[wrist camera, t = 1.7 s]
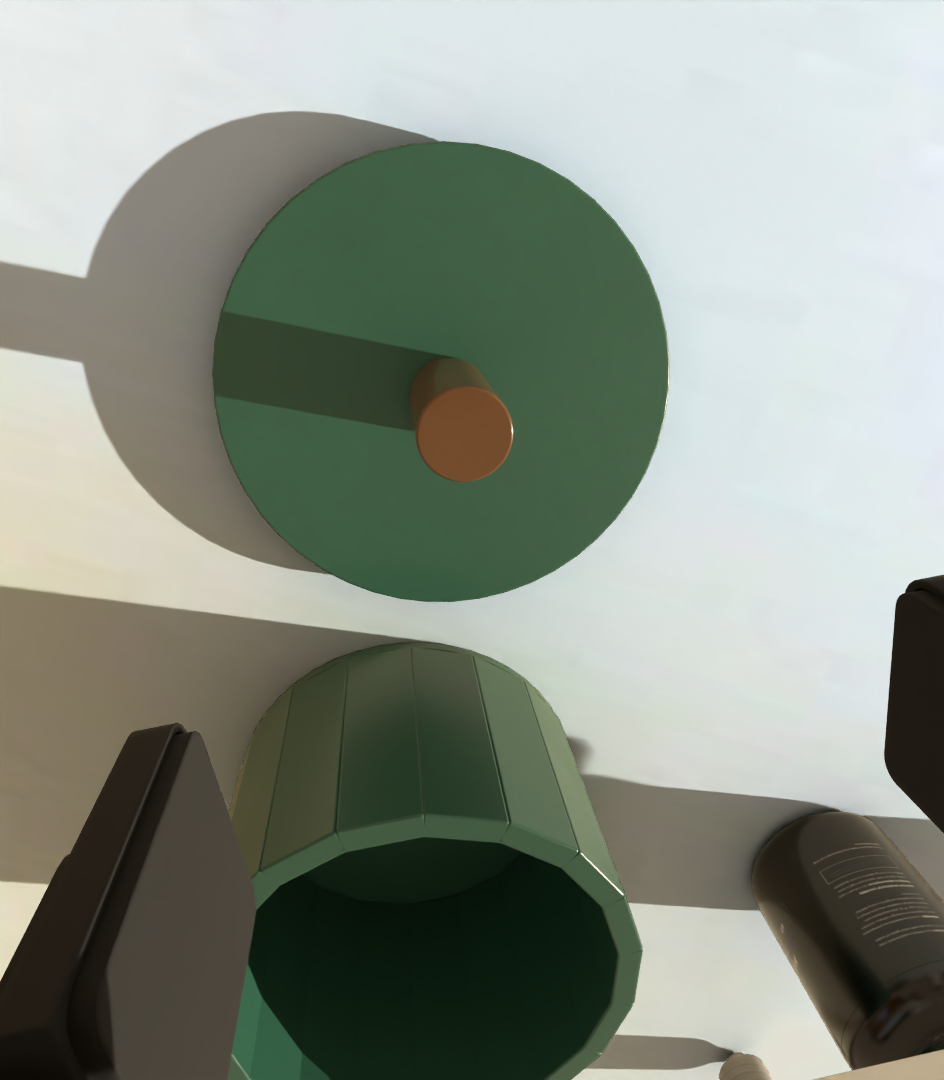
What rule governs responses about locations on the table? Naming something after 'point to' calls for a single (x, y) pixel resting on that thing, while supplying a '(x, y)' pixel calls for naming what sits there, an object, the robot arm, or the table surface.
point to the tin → (424, 880)
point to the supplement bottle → (857, 934)
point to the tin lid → (441, 371)
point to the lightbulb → (744, 1068)
